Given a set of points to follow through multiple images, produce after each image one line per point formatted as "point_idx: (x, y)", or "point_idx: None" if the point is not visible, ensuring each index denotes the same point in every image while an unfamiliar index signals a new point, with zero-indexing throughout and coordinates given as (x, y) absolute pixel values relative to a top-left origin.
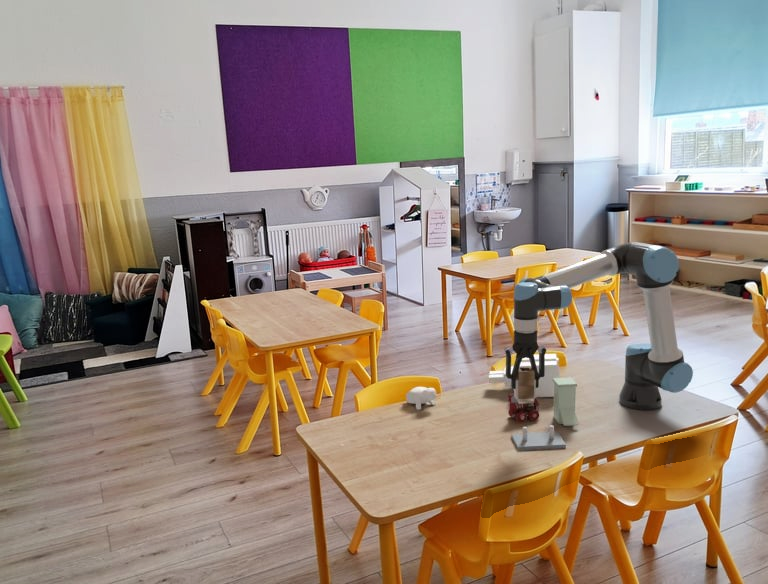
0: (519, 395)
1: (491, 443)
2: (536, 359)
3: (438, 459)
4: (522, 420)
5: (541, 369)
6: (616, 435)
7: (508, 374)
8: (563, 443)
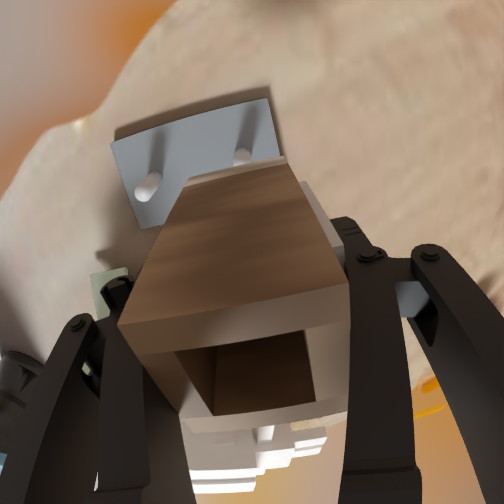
0: (288, 170)
1: (351, 142)
2: (217, 483)
3: (478, 55)
4: None
5: (64, 370)
6: (18, 243)
7: (449, 268)
8: (117, 148)
